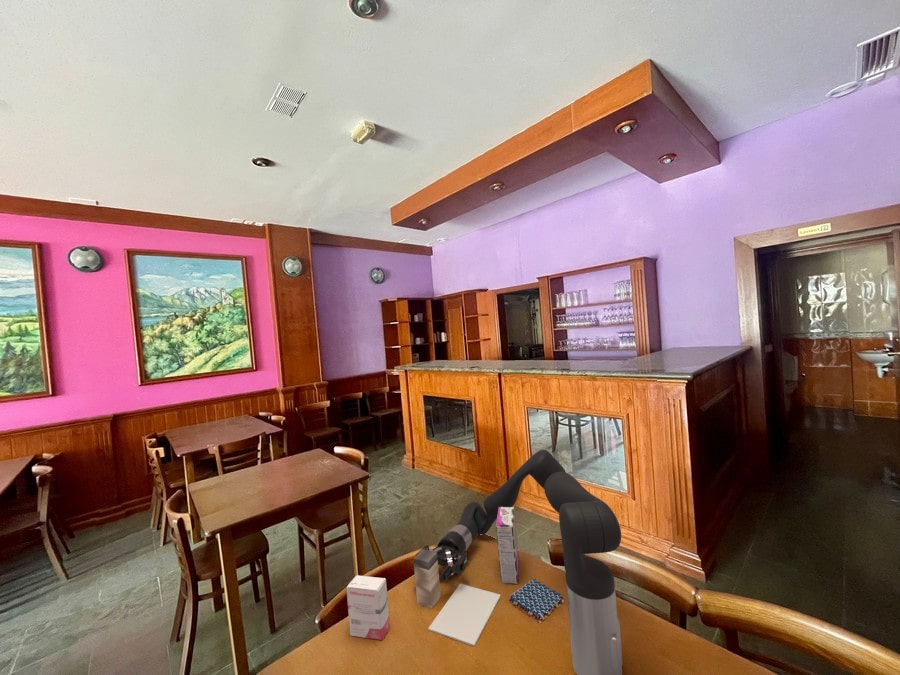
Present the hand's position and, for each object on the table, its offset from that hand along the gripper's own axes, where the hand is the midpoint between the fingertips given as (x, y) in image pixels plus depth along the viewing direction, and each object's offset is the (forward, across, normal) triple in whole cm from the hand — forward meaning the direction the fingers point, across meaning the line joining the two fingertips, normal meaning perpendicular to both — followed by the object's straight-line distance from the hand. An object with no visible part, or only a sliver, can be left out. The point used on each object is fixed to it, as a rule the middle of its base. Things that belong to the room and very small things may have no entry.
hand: (427, 574), depth 98 cm
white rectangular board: (+1, -11, -6) cm, 13 cm away
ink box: (+15, +8, -6) cm, 18 cm away
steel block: (+1, 0, -6) cm, 6 cm away
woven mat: (-9, -26, -7) cm, 29 cm away
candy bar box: (-18, -16, -6) cm, 25 cm away
